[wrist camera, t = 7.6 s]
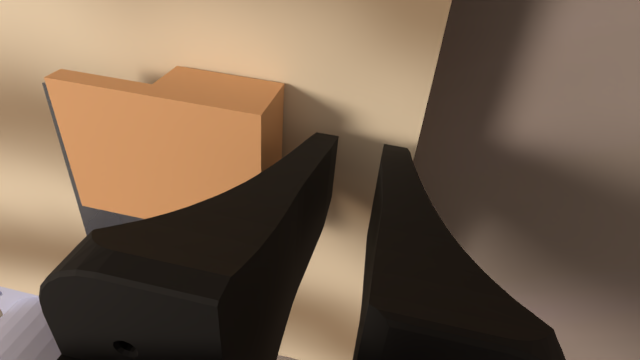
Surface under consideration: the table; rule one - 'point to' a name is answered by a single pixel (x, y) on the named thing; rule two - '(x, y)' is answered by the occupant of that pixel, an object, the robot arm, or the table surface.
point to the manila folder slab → (165, 136)
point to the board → (235, 59)
